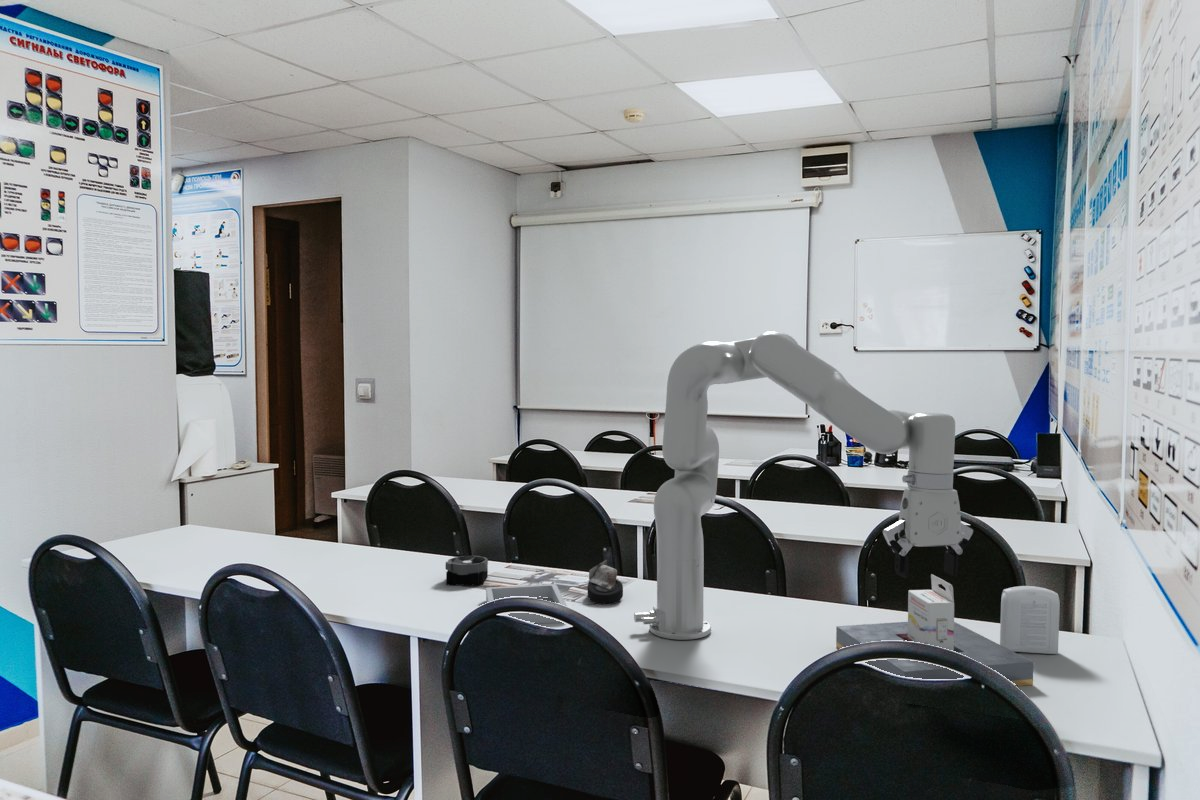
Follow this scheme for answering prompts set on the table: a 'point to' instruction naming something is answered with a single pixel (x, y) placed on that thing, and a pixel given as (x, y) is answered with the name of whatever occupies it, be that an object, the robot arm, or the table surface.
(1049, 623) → the photo printer
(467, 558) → the cpu cooler
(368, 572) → the table surface
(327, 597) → the table surface
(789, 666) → the table surface
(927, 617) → the ink cartridge box
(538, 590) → the charger corral
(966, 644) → the dock
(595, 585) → the caster wheel
